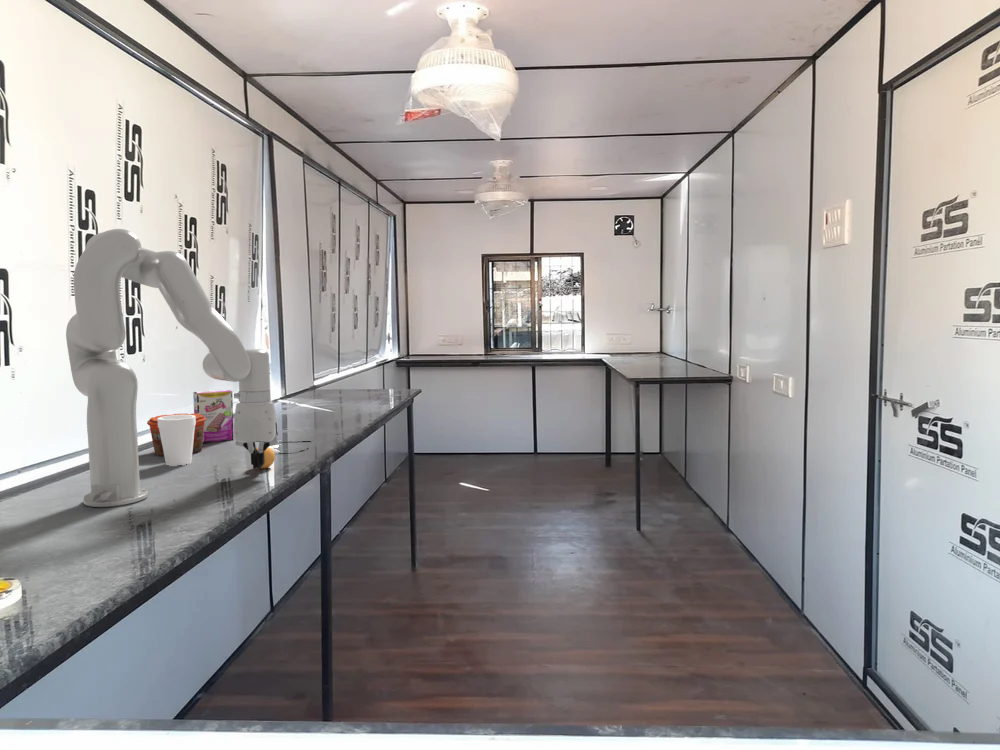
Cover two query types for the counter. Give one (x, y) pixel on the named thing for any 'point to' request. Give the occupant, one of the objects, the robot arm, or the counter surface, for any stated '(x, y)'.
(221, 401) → the candy bar box
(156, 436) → the food container
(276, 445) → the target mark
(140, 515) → the counter surface
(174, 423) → the foam cup
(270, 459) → the ball
